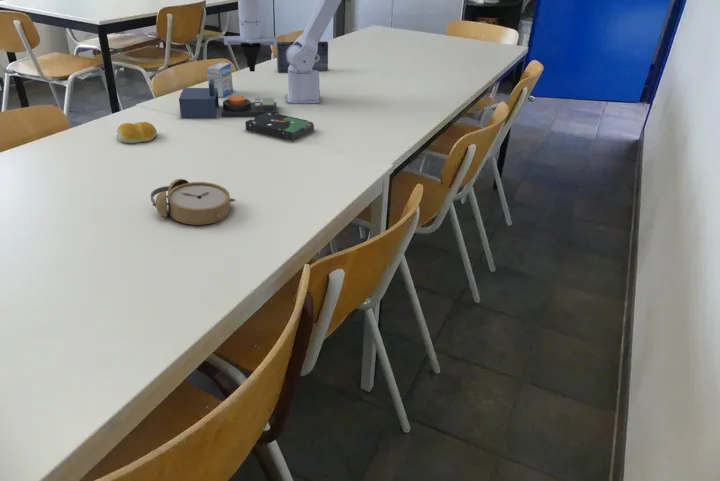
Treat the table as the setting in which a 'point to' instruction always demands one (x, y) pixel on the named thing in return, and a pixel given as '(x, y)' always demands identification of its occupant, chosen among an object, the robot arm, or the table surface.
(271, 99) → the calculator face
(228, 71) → the medicine box
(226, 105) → the control panel
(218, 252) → the table surface
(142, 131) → the bread roll
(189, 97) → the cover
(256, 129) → the disk drive
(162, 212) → the alarm clock
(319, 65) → the vhs cassette tape
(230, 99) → the equals key
